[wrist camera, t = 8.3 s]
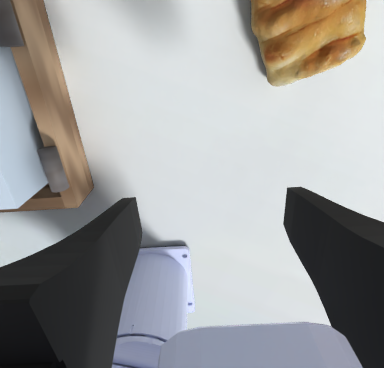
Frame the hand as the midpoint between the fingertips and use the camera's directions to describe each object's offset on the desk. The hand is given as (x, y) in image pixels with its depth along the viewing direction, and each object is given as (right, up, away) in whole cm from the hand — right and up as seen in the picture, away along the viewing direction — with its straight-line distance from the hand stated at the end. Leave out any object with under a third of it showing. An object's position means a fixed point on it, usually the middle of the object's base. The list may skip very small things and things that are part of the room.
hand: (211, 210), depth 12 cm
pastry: (+6, +13, +5) cm, 15 cm away
